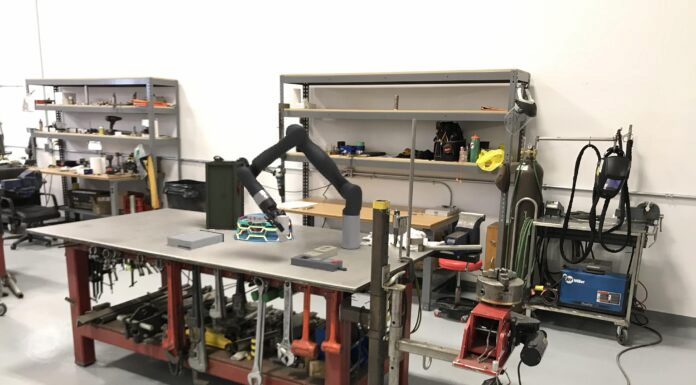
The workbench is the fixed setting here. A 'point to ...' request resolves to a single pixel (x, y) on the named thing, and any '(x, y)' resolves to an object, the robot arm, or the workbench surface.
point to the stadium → (258, 229)
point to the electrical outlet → (323, 252)
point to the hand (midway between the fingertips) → (286, 229)
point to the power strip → (317, 262)
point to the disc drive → (195, 239)
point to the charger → (285, 223)
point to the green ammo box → (223, 195)
